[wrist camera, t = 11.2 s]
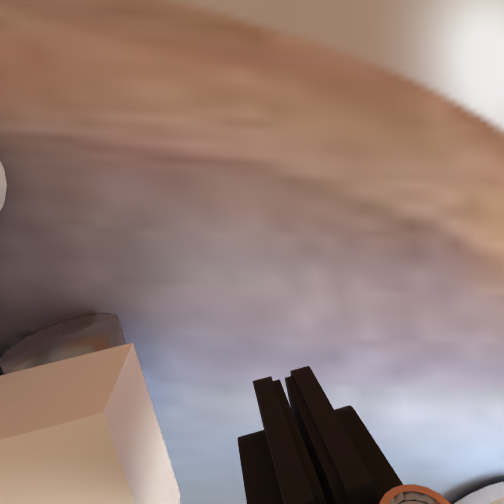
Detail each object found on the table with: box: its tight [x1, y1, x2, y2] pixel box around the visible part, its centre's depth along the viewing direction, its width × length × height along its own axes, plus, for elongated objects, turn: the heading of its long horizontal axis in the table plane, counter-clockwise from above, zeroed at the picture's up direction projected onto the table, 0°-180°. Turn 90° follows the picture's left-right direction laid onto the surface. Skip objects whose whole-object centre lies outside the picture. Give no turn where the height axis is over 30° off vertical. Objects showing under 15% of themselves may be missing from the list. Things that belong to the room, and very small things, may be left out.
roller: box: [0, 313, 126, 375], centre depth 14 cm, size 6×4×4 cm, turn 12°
